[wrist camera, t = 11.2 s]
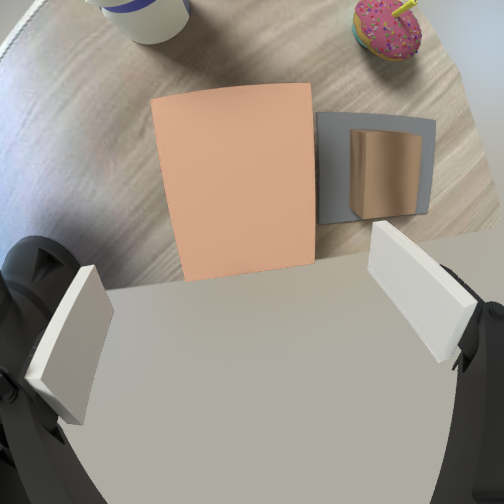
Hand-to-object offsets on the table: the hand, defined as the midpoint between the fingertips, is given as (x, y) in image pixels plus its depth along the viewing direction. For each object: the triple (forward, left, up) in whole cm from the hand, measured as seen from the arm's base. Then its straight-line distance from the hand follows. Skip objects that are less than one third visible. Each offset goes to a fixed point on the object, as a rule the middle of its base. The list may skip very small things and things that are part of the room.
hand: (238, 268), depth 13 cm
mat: (+20, -2, -22) cm, 30 cm away
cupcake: (+19, +16, -22) cm, 33 cm away
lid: (+1, 0, -14) cm, 14 cm away
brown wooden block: (+19, -2, -22) cm, 29 cm away
